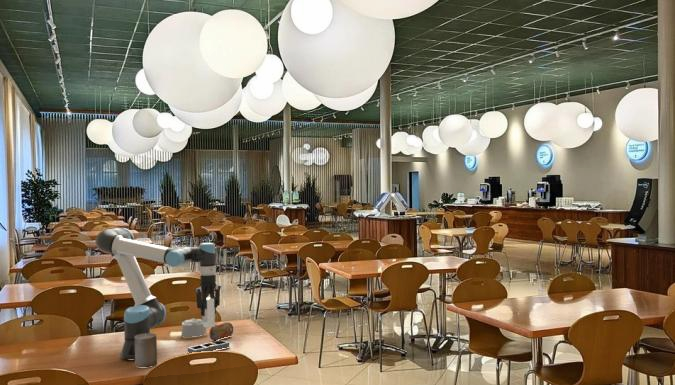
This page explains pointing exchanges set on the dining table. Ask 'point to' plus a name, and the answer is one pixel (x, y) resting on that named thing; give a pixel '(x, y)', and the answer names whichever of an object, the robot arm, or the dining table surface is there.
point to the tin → (221, 331)
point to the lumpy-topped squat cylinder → (193, 328)
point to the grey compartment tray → (209, 346)
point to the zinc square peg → (209, 313)
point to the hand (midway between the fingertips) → (208, 321)
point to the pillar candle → (145, 350)
